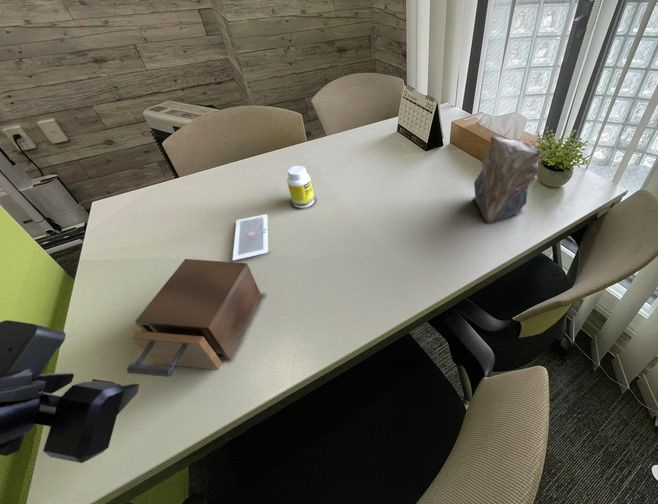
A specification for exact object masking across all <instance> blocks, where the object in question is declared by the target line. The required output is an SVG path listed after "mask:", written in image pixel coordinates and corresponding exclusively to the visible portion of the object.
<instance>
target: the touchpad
mask: <svg viewBox="0 0 658 504" xmlns="http://www.w3.org/2000/svg"><path fill="white" fill-rule="evenodd" d="M268 225H269V224H268V213H266V214H260V215H256V216H250V217H245V218H240V219H236V222H235V230H234V231H235V233H234V243H233V253H232V261H237V260H241V259H246V258H251V257H255V256H259V255H263V254H269V233H268V231H269V229H268Z"/></svg>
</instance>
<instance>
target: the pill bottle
mask: <svg viewBox="0 0 658 504" xmlns="http://www.w3.org/2000/svg"><path fill="white" fill-rule="evenodd" d="M287 175H288V177H287V179H286V182H287V186H288V191H289V194H290V198H291V202H292V204H293V206H294V207H296V208H301V209H303V208H308V207H310V206H311V205H313V204H314V202H315V195H314V191H313V185H312V181H311V180H312V179H311V177H310V174H308V173H307V170H306V167H305V166H304V165H299V164H298V165H292V166H291V167H288V169H287Z"/></svg>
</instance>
